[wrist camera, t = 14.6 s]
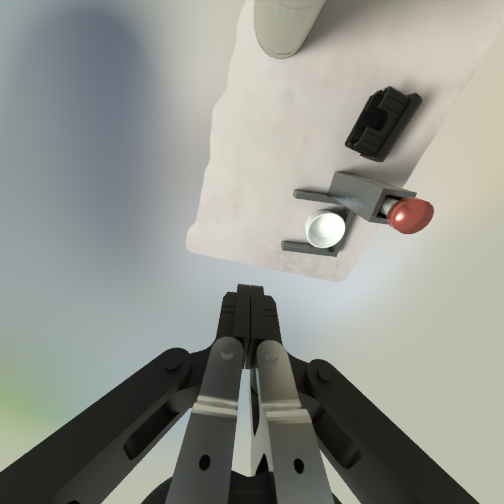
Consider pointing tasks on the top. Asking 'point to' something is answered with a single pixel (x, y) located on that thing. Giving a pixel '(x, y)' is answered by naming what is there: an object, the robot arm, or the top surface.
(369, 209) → the press
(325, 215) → the ramekin
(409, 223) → the ram plunger
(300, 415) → the robot arm
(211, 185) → the top surface
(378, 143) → the end cap
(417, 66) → the top surface
